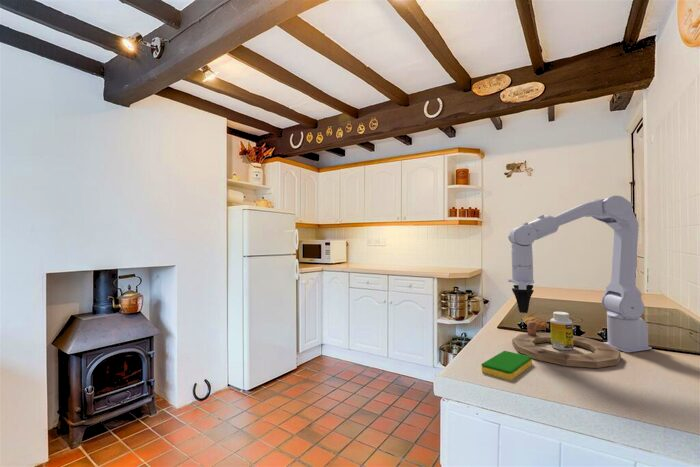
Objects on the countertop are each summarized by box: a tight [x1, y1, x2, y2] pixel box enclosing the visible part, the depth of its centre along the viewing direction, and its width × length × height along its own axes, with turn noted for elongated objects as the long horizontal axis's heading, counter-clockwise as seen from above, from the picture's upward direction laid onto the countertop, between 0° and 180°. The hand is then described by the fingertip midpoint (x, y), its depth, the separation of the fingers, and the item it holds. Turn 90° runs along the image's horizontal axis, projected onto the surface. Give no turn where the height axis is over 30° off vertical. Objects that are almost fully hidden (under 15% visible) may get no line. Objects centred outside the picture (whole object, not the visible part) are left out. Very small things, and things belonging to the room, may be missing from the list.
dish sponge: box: [481, 350, 533, 381], centre depth 84 cm, size 7×14×2 cm, turn 133°
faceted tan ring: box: [511, 321, 622, 369], centre depth 95 cm, size 25×25×6 cm
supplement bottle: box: [549, 311, 574, 351], centre depth 98 cm, size 6×6×10 cm
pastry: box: [520, 315, 550, 331], centre depth 120 cm, size 9×7×4 cm
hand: (523, 310), depth 102 cm, fingers open, 7 cm apart
